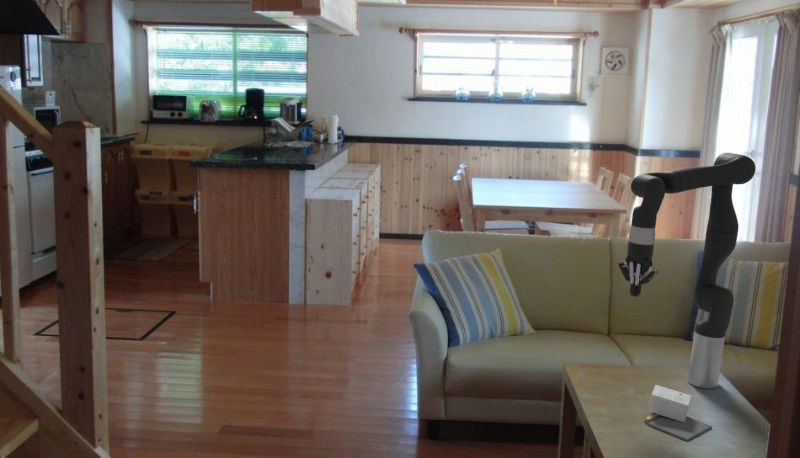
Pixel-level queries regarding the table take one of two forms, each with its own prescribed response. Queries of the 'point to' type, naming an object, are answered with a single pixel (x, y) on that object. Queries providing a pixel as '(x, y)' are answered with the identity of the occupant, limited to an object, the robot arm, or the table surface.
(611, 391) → the table surface
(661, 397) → the small box
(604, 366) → the table surface
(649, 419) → the oak ledge
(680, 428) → the rubber mat
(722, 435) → the table surface
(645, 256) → the robot arm
